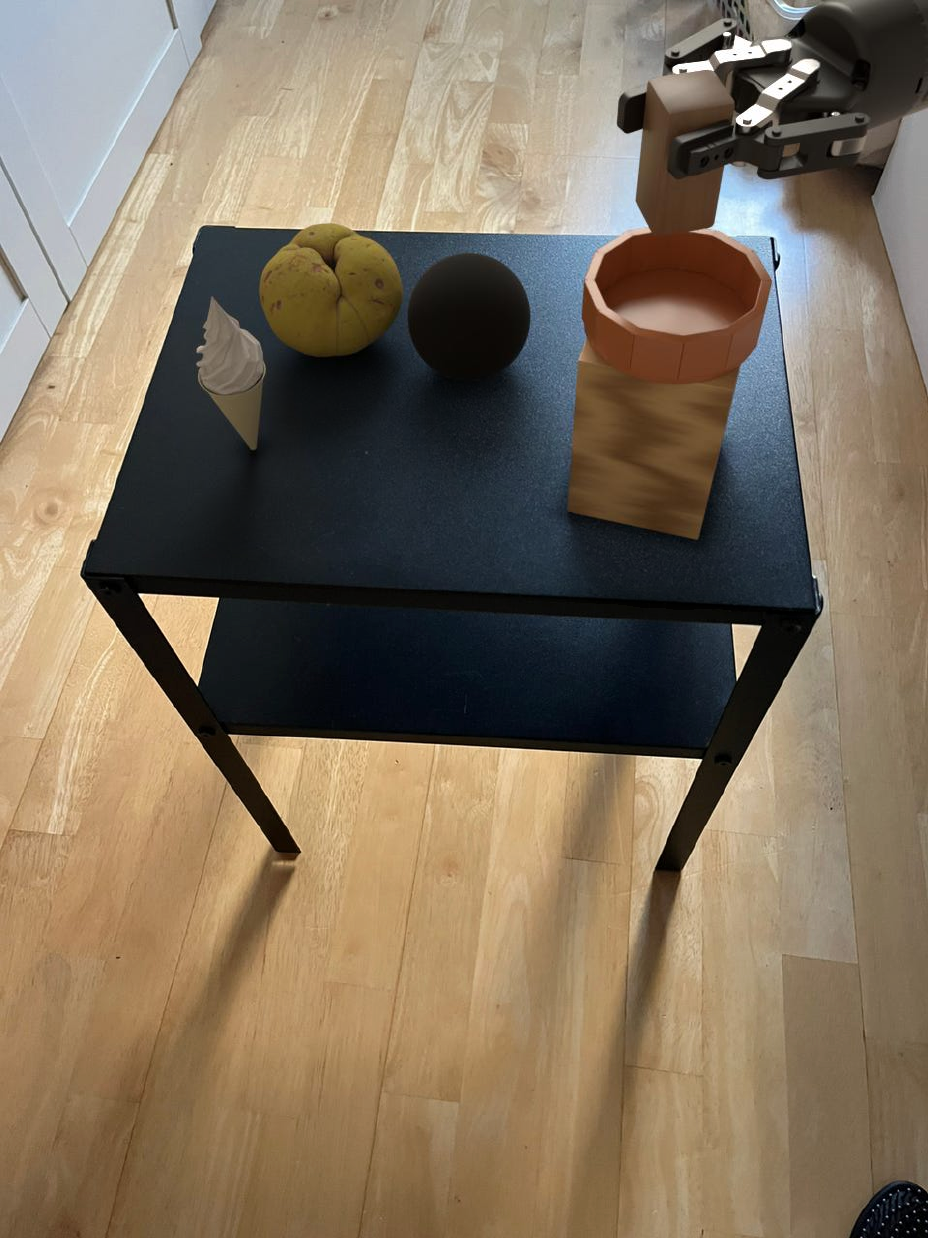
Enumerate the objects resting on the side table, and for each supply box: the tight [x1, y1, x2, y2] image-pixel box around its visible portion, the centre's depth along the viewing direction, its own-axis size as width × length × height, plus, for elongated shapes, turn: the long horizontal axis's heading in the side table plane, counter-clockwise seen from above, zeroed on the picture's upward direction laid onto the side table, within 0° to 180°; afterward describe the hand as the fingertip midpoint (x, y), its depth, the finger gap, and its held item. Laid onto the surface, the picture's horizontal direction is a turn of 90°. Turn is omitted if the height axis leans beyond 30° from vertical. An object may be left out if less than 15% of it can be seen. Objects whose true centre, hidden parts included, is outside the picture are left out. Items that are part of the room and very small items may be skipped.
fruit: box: [258, 222, 404, 358], centre depth 87 cm, size 11×12×10 cm
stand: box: [566, 337, 742, 541], centre depth 75 cm, size 10×10×15 cm
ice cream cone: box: [196, 295, 267, 451], centre depth 78 cm, size 5×5×15 cm
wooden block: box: [635, 69, 735, 237], centre depth 61 cm, size 4×4×8 cm
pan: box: [581, 226, 773, 384], centre depth 69 cm, size 18×11×4 cm, turn 162°
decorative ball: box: [407, 252, 532, 382], centre depth 85 cm, size 10×10×10 cm
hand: (647, 136), depth 59 cm, fingers closed on wooden block, 4 cm apart
